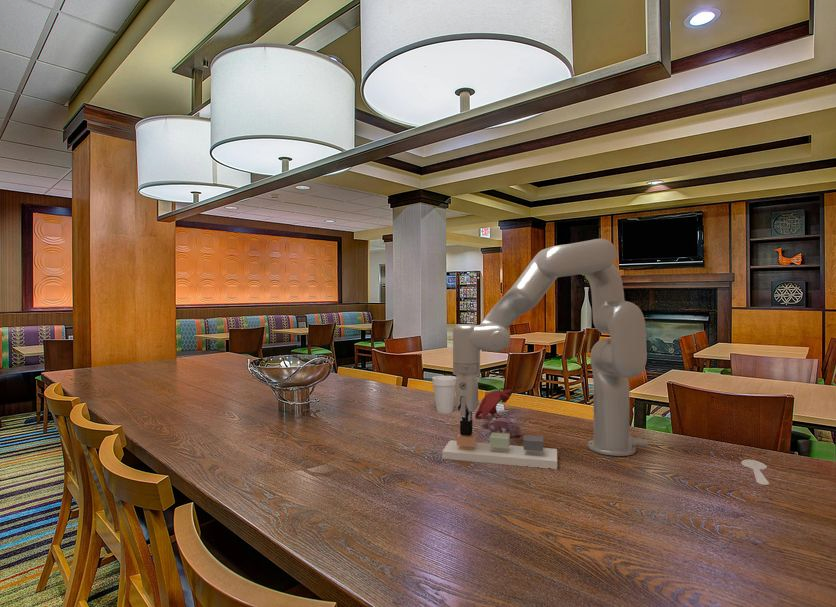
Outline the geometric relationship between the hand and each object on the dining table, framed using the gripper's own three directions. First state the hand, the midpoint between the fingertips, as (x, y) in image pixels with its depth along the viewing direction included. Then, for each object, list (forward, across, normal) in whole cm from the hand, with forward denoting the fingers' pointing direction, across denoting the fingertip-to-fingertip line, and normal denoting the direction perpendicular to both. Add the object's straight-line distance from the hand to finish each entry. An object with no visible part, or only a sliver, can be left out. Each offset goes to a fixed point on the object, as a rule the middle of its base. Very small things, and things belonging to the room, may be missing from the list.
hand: (466, 434), depth 129 cm
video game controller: (+6, +21, -8) cm, 23 cm away
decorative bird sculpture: (+6, +39, -2) cm, 40 cm away
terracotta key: (+2, 0, 0) cm, 3 cm away
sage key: (+2, 0, -9) cm, 10 cm away
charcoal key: (+2, 0, -18) cm, 18 cm away
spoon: (+6, +6, -72) cm, 73 cm away
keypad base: (+6, 0, -9) cm, 11 cm away
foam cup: (+6, +46, +17) cm, 49 cm away
